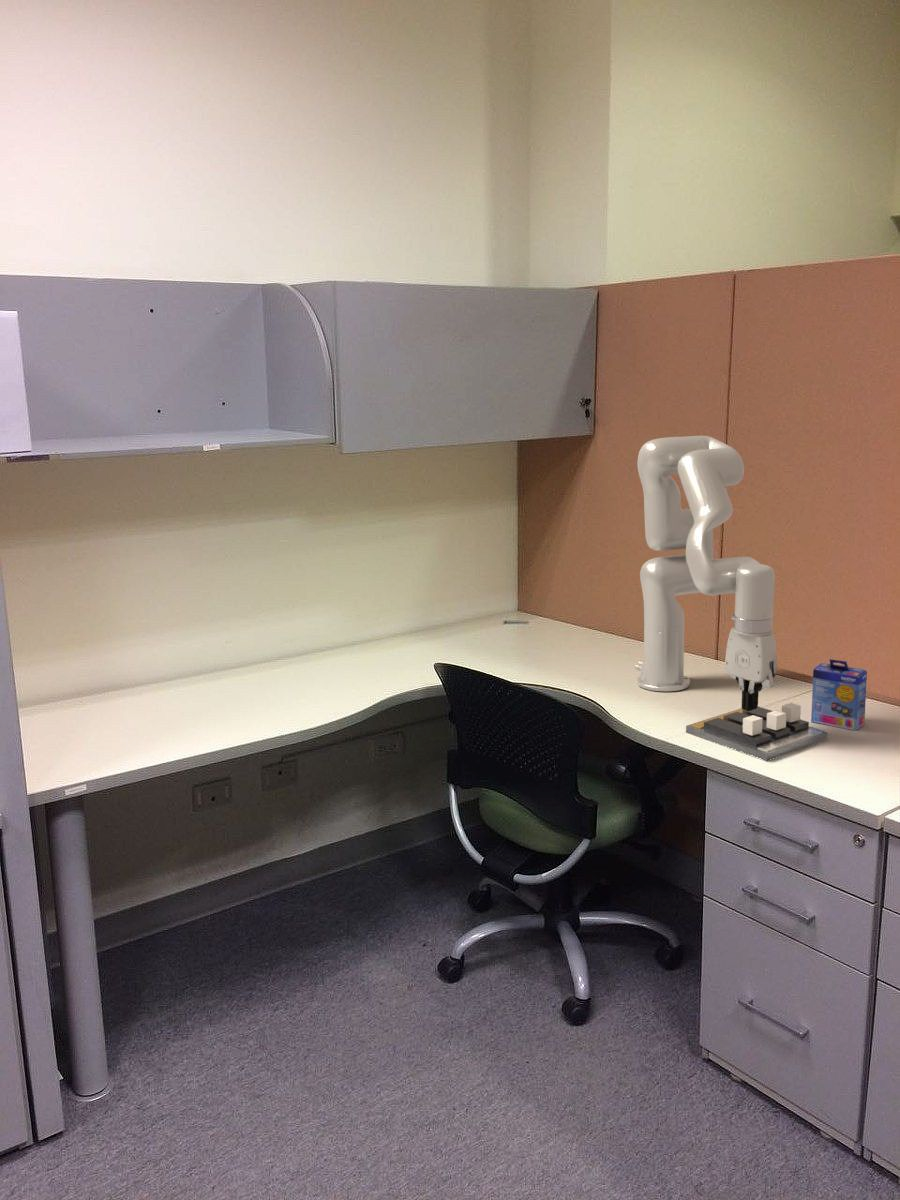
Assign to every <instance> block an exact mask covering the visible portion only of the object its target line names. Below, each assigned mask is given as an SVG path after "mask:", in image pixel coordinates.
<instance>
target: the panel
mask: <svg viewBox="0 0 900 1200" xmlns="http://www.w3.org/2000/svg"><path fill="white" fill-rule="evenodd" d="M772 711H773V710H770V709H767V708H765V707H761V706H758V707H757V709H754V710H751V711H746V710H743V709H742V707H741V708H738V709H735V710H732V711H728V712H726V713H723V714H718V715H716V716H715V715H714V716H713V717H709V718H706V719H703V720H701V721H697V722H694V723H691V724H686V725H685V733H687V734H690V735H692V736H695V737H698V738H700V739H703V740H706V741H708V740H709V742H711V743H714V742H715V744H717V743H718V744H717V745H719V746H722V745H724V747H725V746H727V747H726V748H728V747H729V748H728V749H731V748H733V749H732V750H734V749H736V750H739V751H742V752H744V753H743V754H745V753H746V755H747V754H749V755H748V756H750V755H753V756H755V757H754V758H756V757H758V758H757V759H759V758H761V759H763V760H762V761H764V760H766V761H765V762H769V761H771V760H770V759H772V760H774V759H773V758H775V759H777V758H780V757H782V755H783V756H786V755H788V754H790V752H791V753H793V751H794V752H796V750H797V751H799V750H801V748H802V749H805V748H807V747H810V746H813V745H816V744H818V743H821V742H824V741H827V740H828V736H829V732H828V731H825V730H822V729H820V728H819V729H818V728H816V727H814V726H813V727H812V726H810V722H809V721H807V720H805V719H804V720H803V719H801V718H800V720H797V721H794V722H788V721H786V727H785V728H782V729H779V730H773V729H770V728H767V727H766V726H767V713H769V712H772ZM752 715H754V716H757V717H760V718H763V720H762V733H759V734H756V735H753V736H752V735H749V734H746V733H743V718H746V717H749V716H752ZM798 749H799V750H798ZM736 750H735V751H736ZM739 751H738V752H739ZM742 752H741V753H742ZM785 754H786V755H785ZM753 756H752V757H753ZM779 756H780V757H779ZM776 757H777V758H776ZM761 759H760V760H761ZM768 760H769V761H768Z"/></svg>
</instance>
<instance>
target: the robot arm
mask: <svg viewBox="0 0 900 1200" xmlns="http://www.w3.org/2000/svg"><path fill="white" fill-rule="evenodd" d="M743 461H744V460H743V459H742V457H741V455H740V453H739V452H738V451H737V450H736V449H734V448H733V447H732V446H730V445H728V444H726V443H724V442H722V441H720V440H718V439H716V438H714V437H711V436H709V435H689V436H670V437H668V436H667V437H659V438H655V439H650V440H648V441H646V442H645V443H644V444H643V445H642V446H641V448H640V450H639V451H638V456H637V465H636V466H637V471H638V472H637V473H638V477H639V479H640V483H641V486H642V492H643V509H644V511H643V515H644V534H645V535H644V537H645V542H646V545H647V546H648V548H650V549H651V550H652V551H657V552H661V551H662V552H666V551H677V550H678V551H679V550H685V554H679V555H675V554H674V555H666V556H658V557H654V558H650V559H648V560H646V561H645V562H644V563H643V564H642V566H641V568H640V570H639V571H640V572H639V578H640V580H639V581H640V586H641V591H642V598H643V623H644V626H643V629H644V630H643V635H644V637H643V651H644V652H643V660H642V659H641V660H639V661H638V662H637V663H636V664H635V665H634V670H636V671H640V676H638V677H637V679H636V681H637V685H638V686H639V687H641V688H643V689H645V690H648V691H652V692H653V691H654V692H664V693H665V692H678V691H682V690H685V689H687V688H689V687H690V685H691V680H690V678H689V677H688V676H686V675H684V672H685V671H684V670H685V669H684V667H685V664H684V663H685V613H684V609H683V608H682V606H681V605H680V603H679V601H677V599H676V597H677V596H682V595H689V594H699V593H701V594H703V595H705V596H721V595H729V594H735V597H734V614H732V615H731V621H734V622H733V624H734V625H733V627H731V628H730V632H729V635H728V639H727V643H726V648H725V649H726V651H725V659H724V669H725V672H726V673H727V674H728V675H729V677H731V678H732V679H734V680H736V683H737V684H738V685H739V686H738V688H739V690H740V691H741V708H742V709H743V710H746V711H751V710H754V709H757V707H759V706H758V705H759V692H761V691H762V690H763V689H769V688H773V687H774V679H775V677H776V674H777V664H778V663H777V644H776V638H775V637H776V636H775V633H774V632H773V619H774V603H775V602H774V599H775V598H774V597H775V579H776V575H775V574H776V573H775V570H774V568H773V567H771V566H770V565H767V564H762V563H760V561H758V560H757V559H755V558H753V557H751V556H736V557H723V558H714V533H713V532H714V531H713V529H715V528H717V527H719V526H720V525H723V524H724V523H725V522H727V521H728V520H729V519H730V518H731V517H732V515H733V513H734V508H733V504H732V502H731V499H730V496H729V494H728V490H727V487H731V486H732V487H733V486H737V484H740V482H742V480H743V478H744V474H745V465H744V462H743ZM671 475H678V476H679V479H680V484H681V485H682V489H683V492H684V495H685V498H686V501H687V503H688V506H689V508H682V501H681V500H682V499H681V498H682V497H681V490H680V487H679V485H678V483H677V482H676V481H675V480H674V478H673V477H672V476H671Z"/></svg>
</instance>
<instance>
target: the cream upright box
mask: <svg viewBox="0 0 900 1200" xmlns="http://www.w3.org/2000/svg"><path fill="white" fill-rule="evenodd" d="M762 720H763V718H760V717H757V716H754V715H752V716H749V717H746V718H743V733H746V734H749V735H752V736H753V735H756V734H759V733H762Z"/></svg>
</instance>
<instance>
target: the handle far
mask: <svg viewBox="0 0 900 1200" xmlns="http://www.w3.org/2000/svg"><path fill="white" fill-rule="evenodd" d="M801 707H802V705H800V704H796V703H793V702H790V703H787V704H784V705H781V712H784V713H786V721H788V722H794V721H797V720H800V719H801V712H802V711H801V709H802V708H801Z"/></svg>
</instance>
